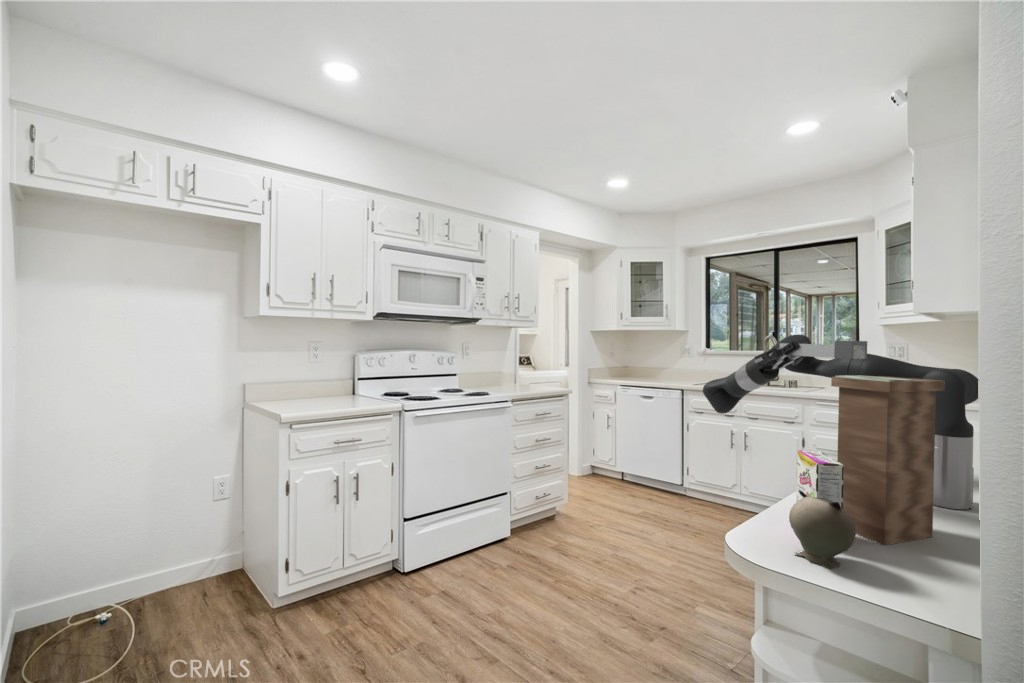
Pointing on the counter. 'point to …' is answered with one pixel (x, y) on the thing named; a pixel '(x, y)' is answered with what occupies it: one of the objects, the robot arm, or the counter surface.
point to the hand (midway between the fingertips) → (802, 344)
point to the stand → (887, 454)
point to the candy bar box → (819, 476)
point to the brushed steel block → (833, 350)
